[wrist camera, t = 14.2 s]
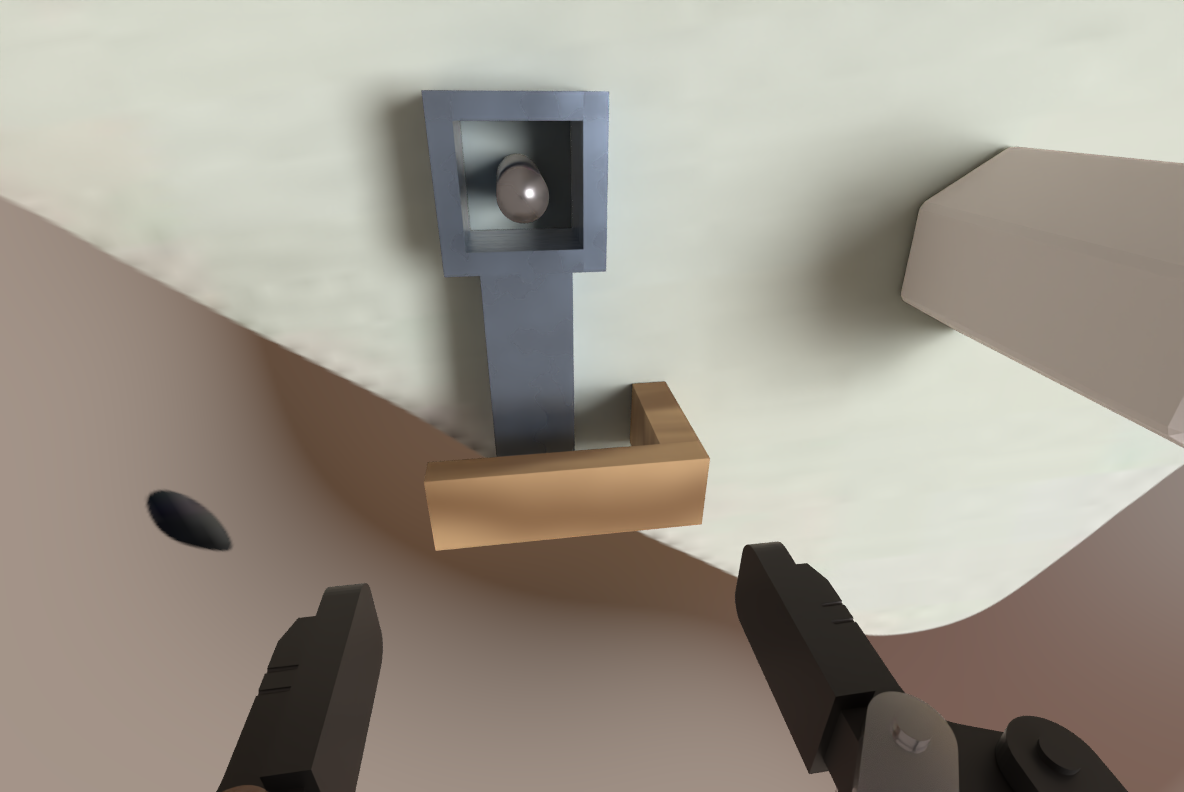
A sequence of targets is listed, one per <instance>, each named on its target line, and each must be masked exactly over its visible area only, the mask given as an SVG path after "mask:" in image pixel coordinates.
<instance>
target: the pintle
mask: <svg viewBox="0 0 1184 792" xmlns="http://www.w3.org/2000/svg"><path fill="white" fill-rule="evenodd" d="M496 198H497V203H498V206H499V208H500V210H501V211H502V213H503V214H504V215H505V216H506V217H507V218H509V219H510V220H512V221H514V222H517V223H530V222H533V221H535V220H537V219H538V218H540V217H541V216H542V215H543V213H544V212H545V210H546V208H547V206H548V202H549V192H548V188H547V185H546V183H545V181H544V179H543V178H542V176H541V174H540V172H539V170H538V168H537V166H536V164H535V163H534V162H533V161H532V160H531V159H530V158H529V157H527V156H525V155H523V154H511V155H509V156H507V157H505V158H504V159H503V160H502V161H501V163H500V164H499V166H498V169H497V186H496Z"/></svg>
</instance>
